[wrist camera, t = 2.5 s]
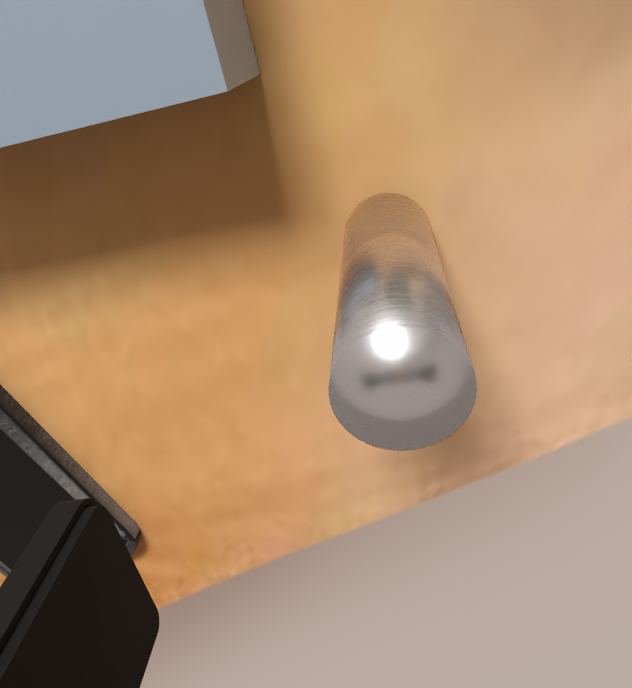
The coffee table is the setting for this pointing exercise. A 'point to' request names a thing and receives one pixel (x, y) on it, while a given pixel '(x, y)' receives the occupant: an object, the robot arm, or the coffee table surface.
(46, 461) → the phone
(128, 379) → the coffee table surface
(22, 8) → the hole block
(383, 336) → the pin
